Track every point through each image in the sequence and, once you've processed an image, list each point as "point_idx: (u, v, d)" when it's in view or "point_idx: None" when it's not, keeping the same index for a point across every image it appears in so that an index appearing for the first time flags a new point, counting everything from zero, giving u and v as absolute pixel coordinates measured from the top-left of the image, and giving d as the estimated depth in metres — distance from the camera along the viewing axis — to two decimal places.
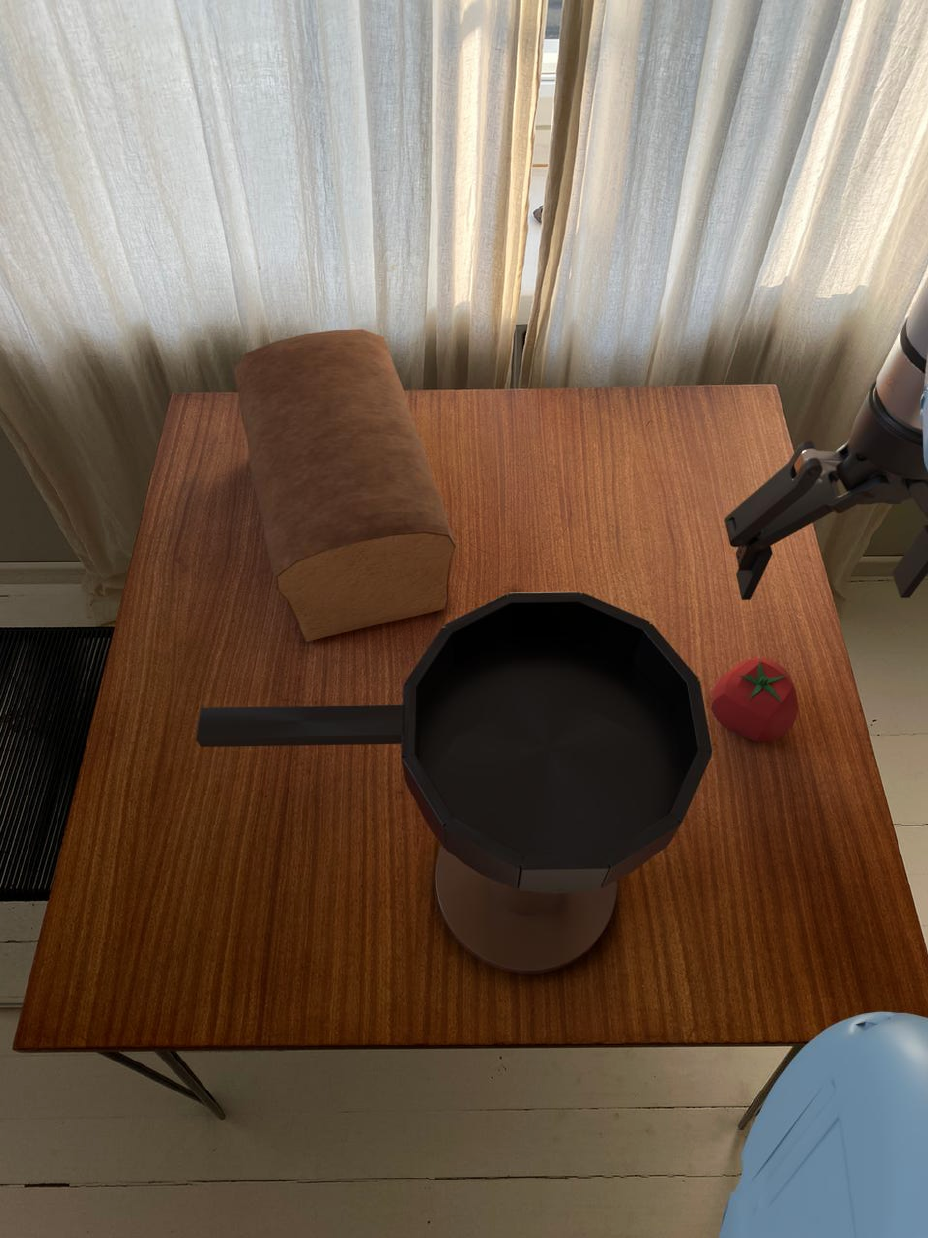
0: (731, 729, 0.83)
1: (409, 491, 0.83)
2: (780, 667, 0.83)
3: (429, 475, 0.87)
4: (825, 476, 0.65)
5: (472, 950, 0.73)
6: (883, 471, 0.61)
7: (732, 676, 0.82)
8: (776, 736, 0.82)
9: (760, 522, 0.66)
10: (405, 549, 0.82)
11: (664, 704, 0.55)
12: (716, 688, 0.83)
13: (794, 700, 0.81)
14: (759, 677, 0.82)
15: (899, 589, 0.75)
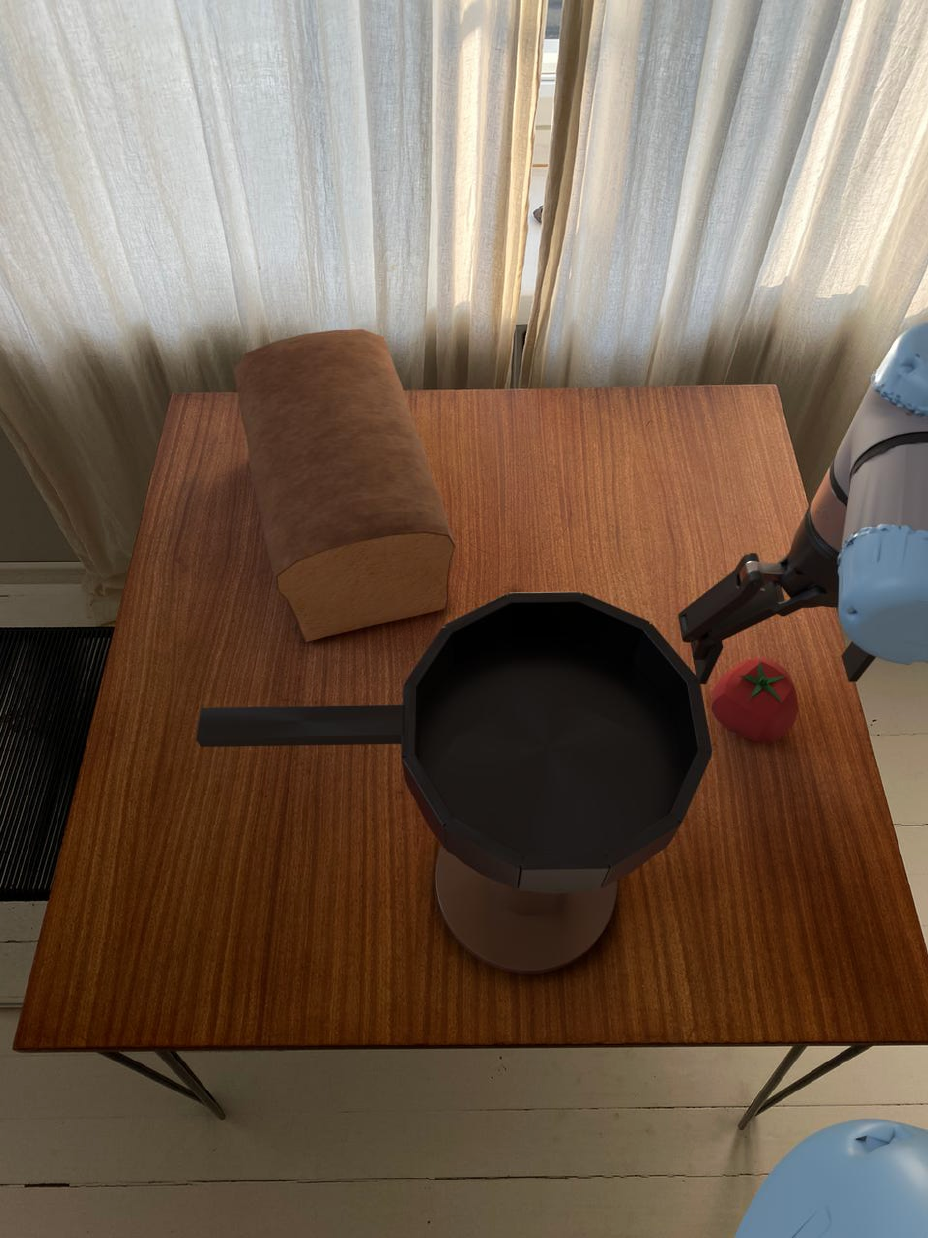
0: (731, 729, 0.83)
1: (409, 491, 0.83)
2: (780, 667, 0.83)
3: (429, 475, 0.87)
4: None
5: (472, 950, 0.73)
6: None
7: (732, 676, 0.82)
8: (776, 736, 0.82)
9: (709, 623, 0.70)
10: (404, 549, 0.82)
11: (664, 704, 0.55)
12: (716, 688, 0.83)
13: (794, 700, 0.81)
14: (759, 677, 0.82)
15: (847, 673, 0.79)
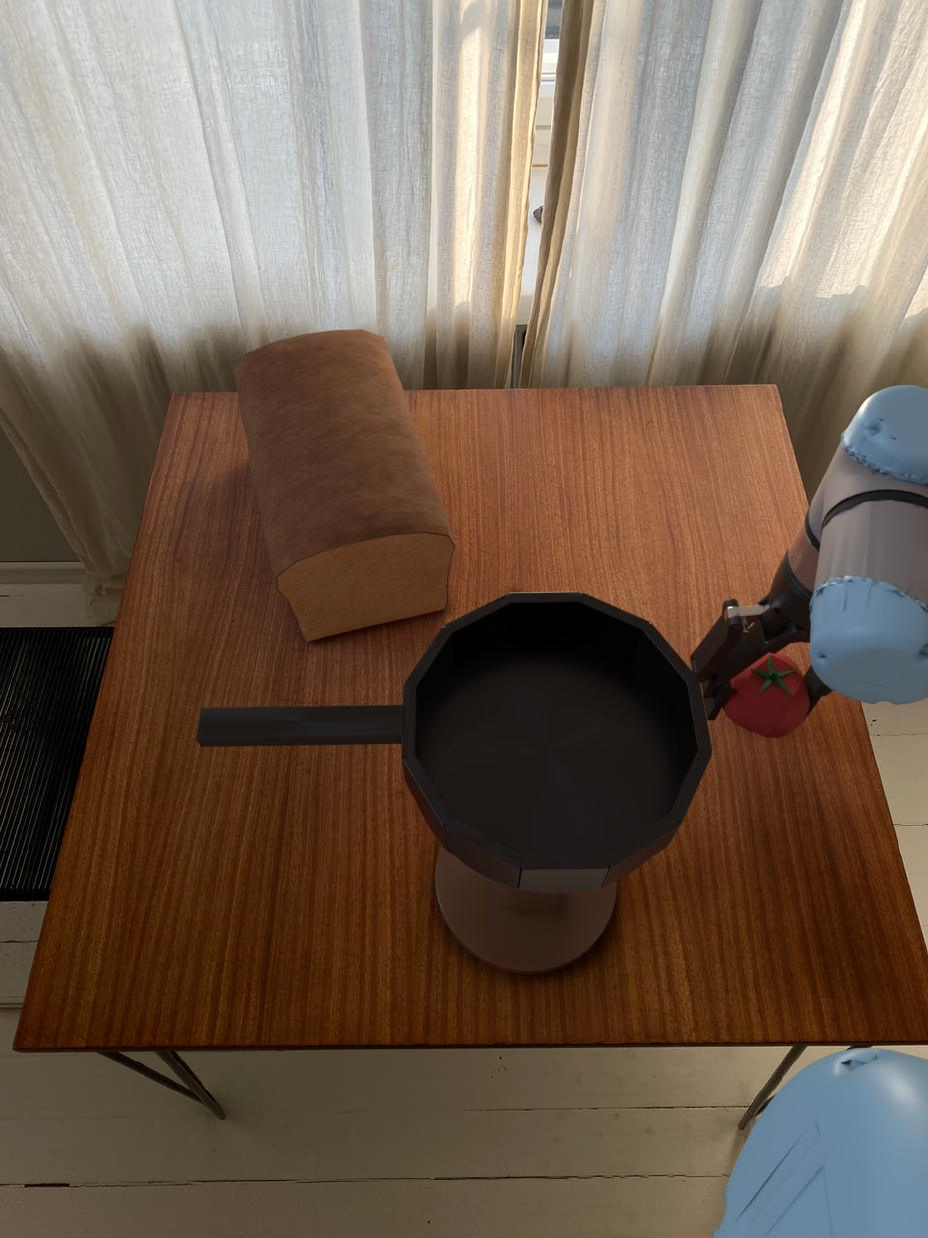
0: (741, 724, 0.81)
1: (409, 491, 0.83)
2: (790, 661, 0.81)
3: (429, 475, 0.87)
4: (758, 621, 0.74)
5: (472, 950, 0.73)
6: None
7: None
8: (787, 731, 0.80)
9: (711, 665, 0.75)
10: (404, 549, 0.82)
11: (664, 704, 0.55)
12: None
13: (805, 694, 0.79)
14: (769, 671, 0.80)
15: None
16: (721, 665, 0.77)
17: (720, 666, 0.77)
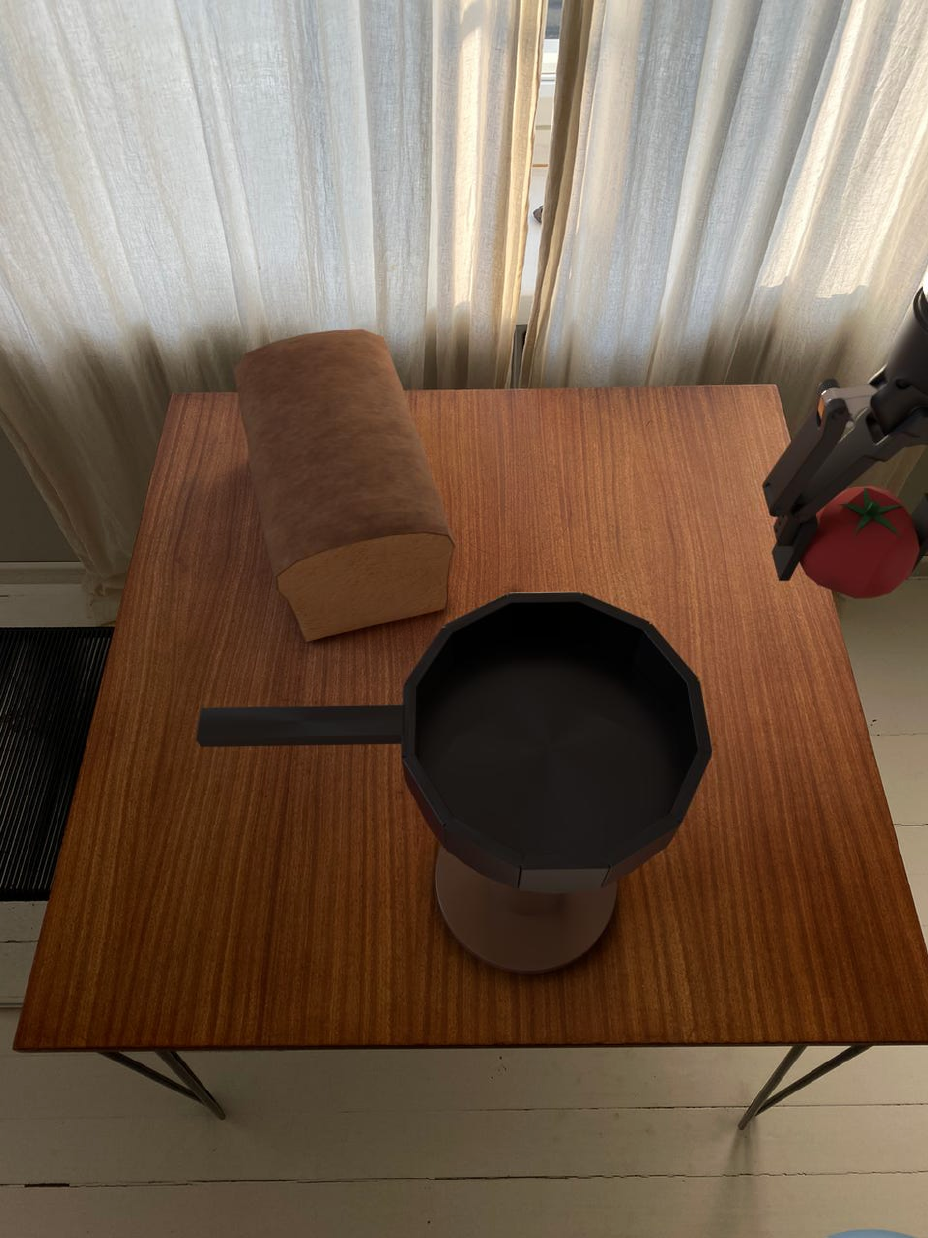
0: (826, 581, 0.62)
1: (409, 491, 0.83)
2: (892, 495, 0.61)
3: (429, 475, 0.87)
4: (862, 421, 0.54)
5: (472, 950, 0.73)
6: (924, 403, 0.50)
7: (829, 506, 0.61)
8: (890, 585, 0.60)
9: (796, 484, 0.56)
10: (404, 549, 0.82)
11: (664, 704, 0.55)
12: None
13: (915, 535, 0.60)
14: (866, 506, 0.60)
15: None
16: (806, 491, 0.58)
17: (804, 493, 0.58)
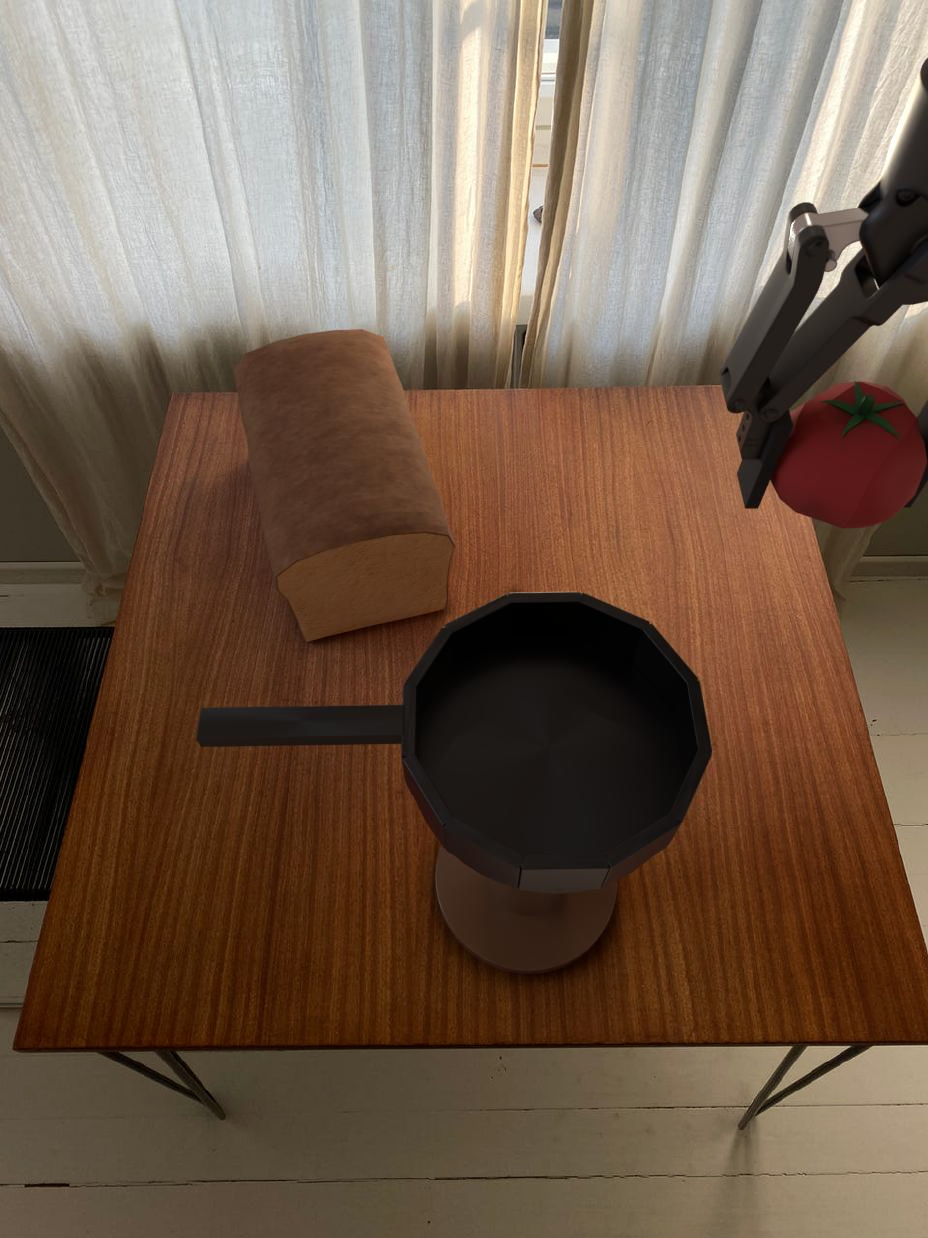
0: (805, 504, 0.47)
1: (409, 491, 0.83)
2: (892, 392, 0.47)
3: (429, 475, 0.87)
4: (850, 272, 0.40)
5: (472, 950, 0.73)
6: None
7: (808, 405, 0.46)
8: (888, 507, 0.46)
9: (761, 363, 0.41)
10: (404, 549, 0.82)
11: (664, 704, 0.55)
12: None
13: (922, 440, 0.45)
14: (857, 403, 0.46)
15: None
16: (776, 377, 0.43)
17: (774, 380, 0.43)
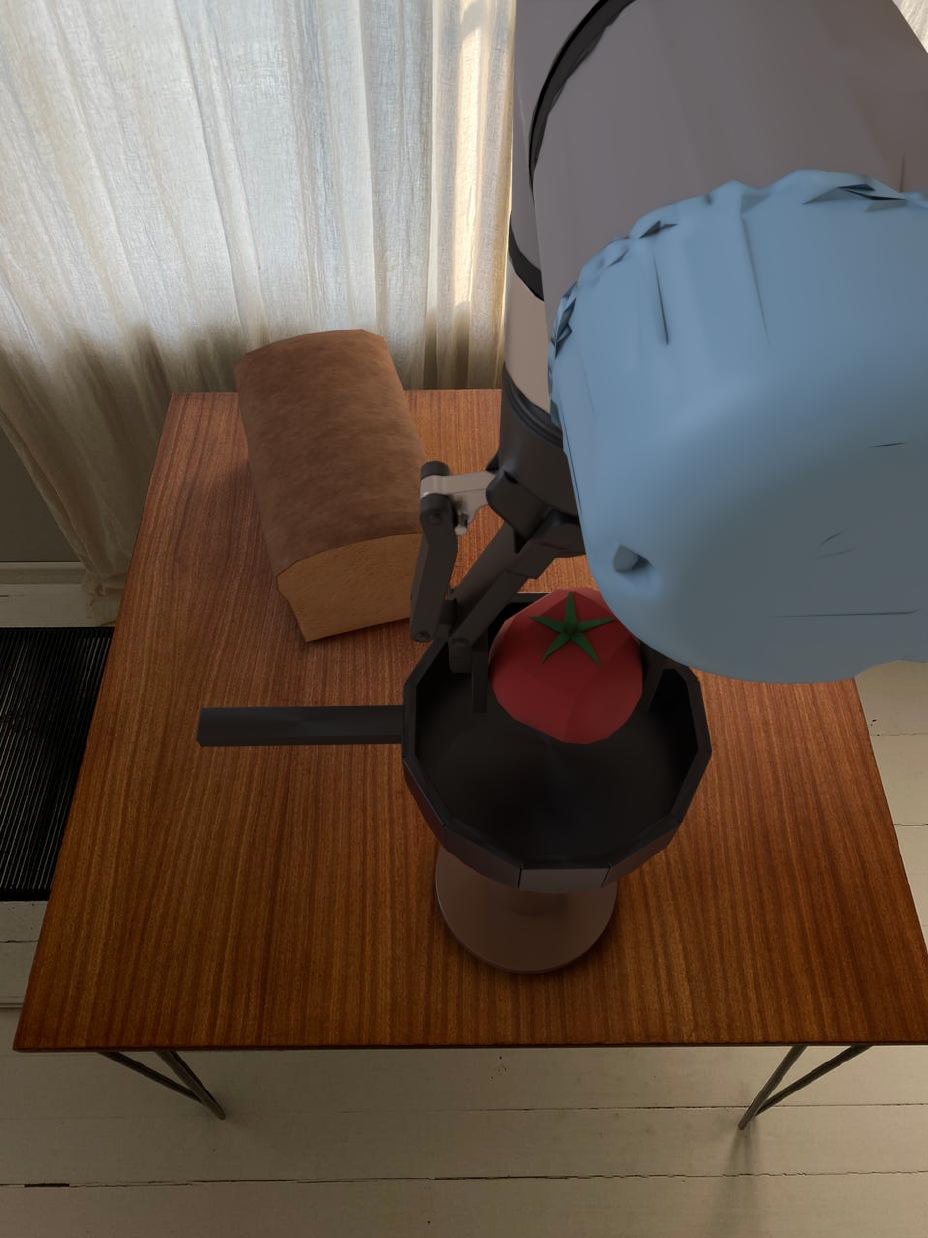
0: (521, 720, 0.45)
1: (409, 491, 0.83)
2: None
3: None
4: None
5: (472, 950, 0.73)
6: None
7: (517, 619, 0.44)
8: (598, 732, 0.43)
9: (427, 605, 0.38)
10: (404, 549, 0.82)
11: (664, 704, 0.55)
12: (493, 643, 0.45)
13: (630, 663, 0.42)
14: (566, 620, 0.43)
15: None
16: (460, 608, 0.40)
17: (459, 610, 0.40)
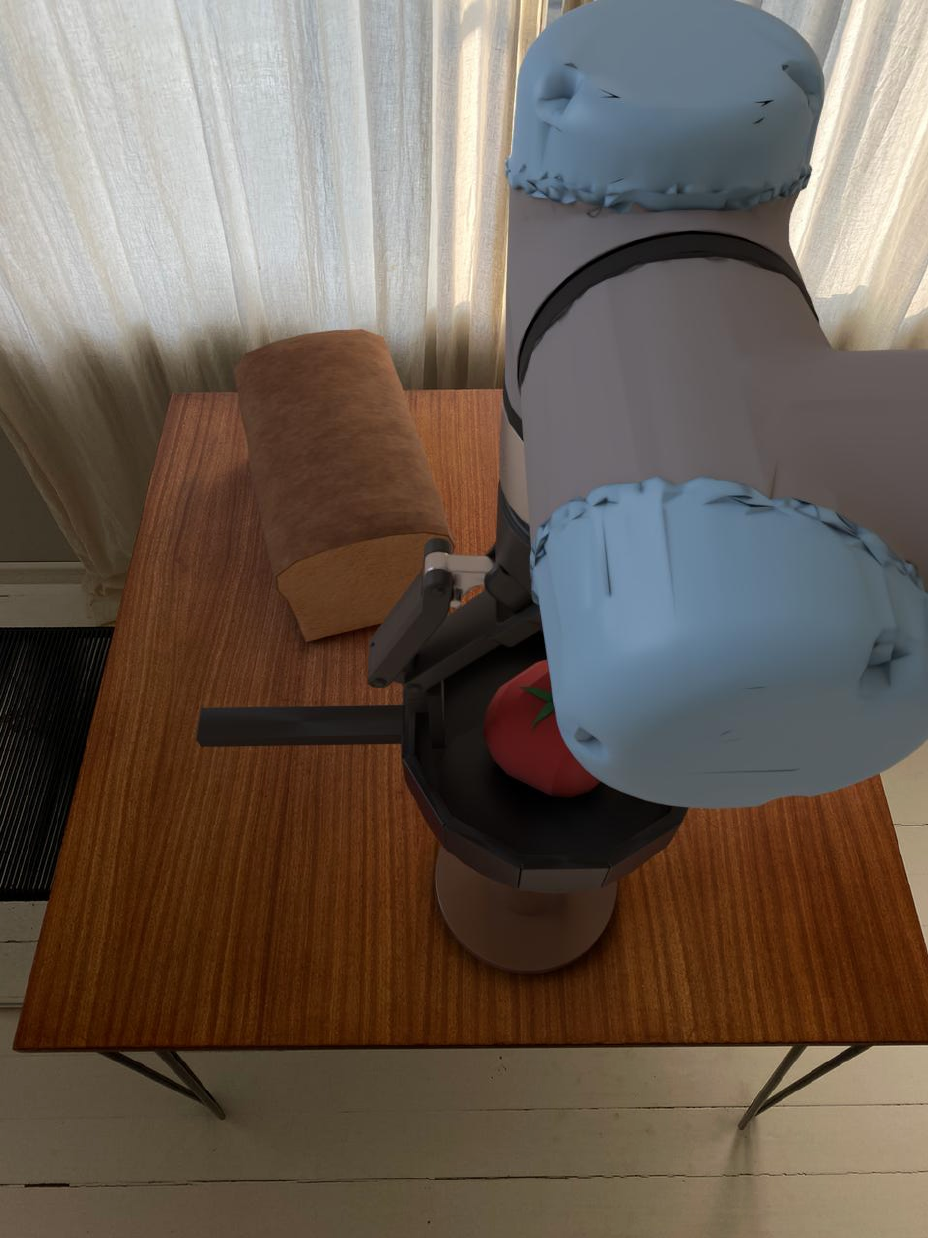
0: (513, 775, 0.50)
1: (409, 491, 0.83)
2: None
3: (429, 475, 0.87)
4: None
5: (472, 950, 0.73)
6: None
7: (510, 688, 0.49)
8: (581, 789, 0.49)
9: (397, 658, 0.42)
10: (404, 549, 0.82)
11: None
12: (488, 708, 0.50)
13: None
14: None
15: None
16: (422, 657, 0.44)
17: (420, 659, 0.44)
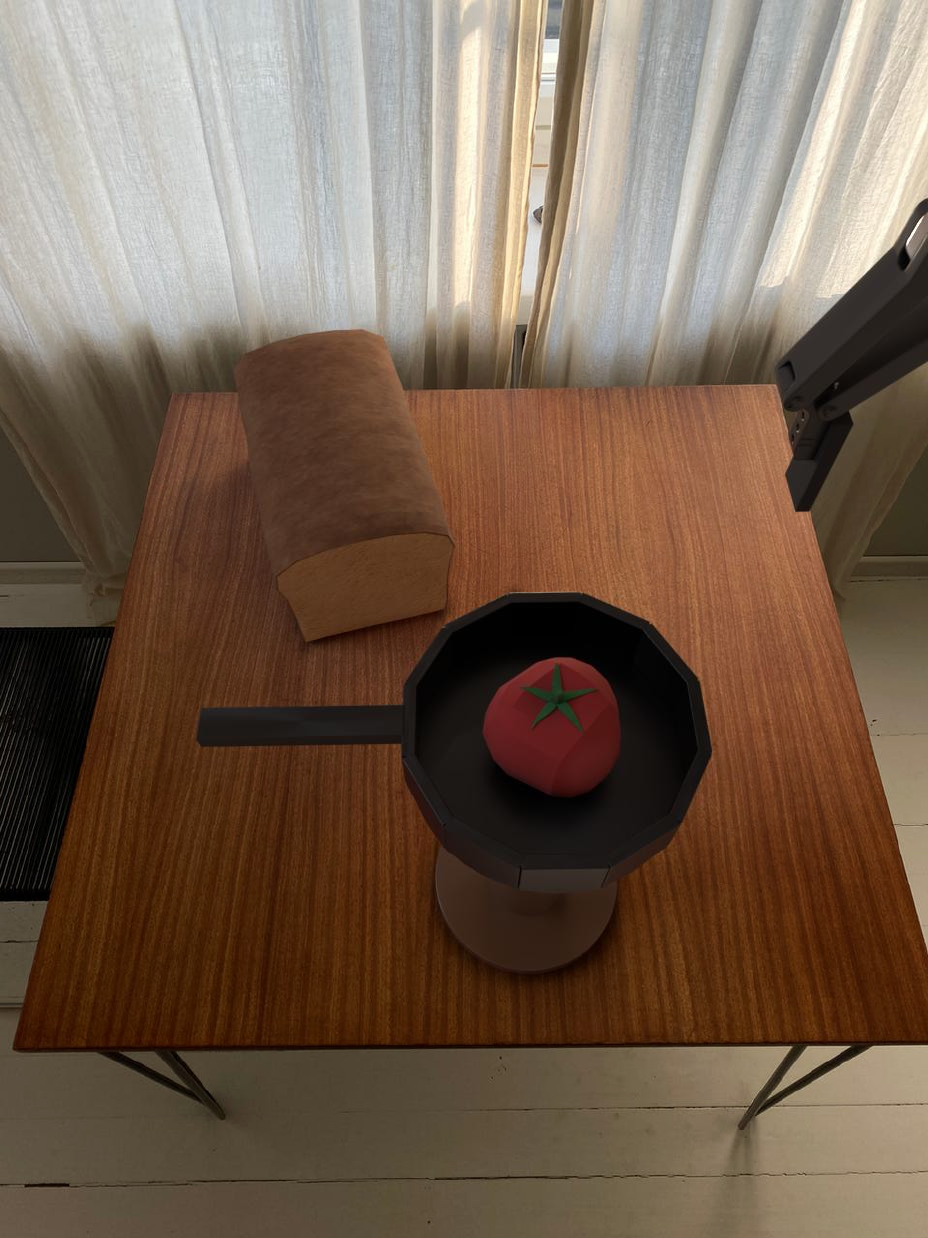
0: (513, 775, 0.50)
1: (409, 491, 0.83)
2: (592, 673, 0.50)
3: (429, 475, 0.87)
4: None
5: (472, 950, 0.73)
6: None
7: (510, 688, 0.49)
8: (581, 789, 0.49)
9: (838, 361, 0.38)
10: (404, 549, 0.82)
11: (664, 704, 0.55)
12: (488, 708, 0.50)
13: (609, 728, 0.48)
14: (553, 690, 0.49)
15: None
16: (845, 374, 0.40)
17: (842, 376, 0.40)
